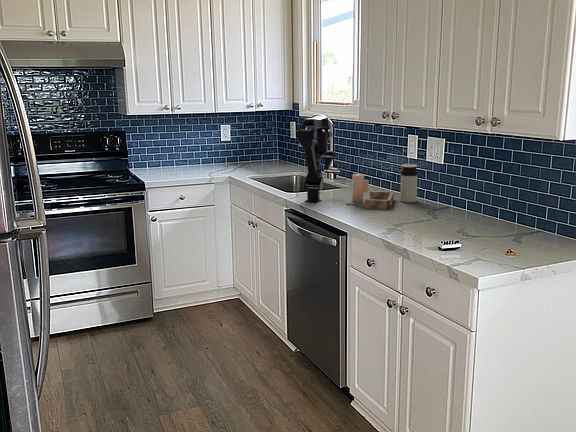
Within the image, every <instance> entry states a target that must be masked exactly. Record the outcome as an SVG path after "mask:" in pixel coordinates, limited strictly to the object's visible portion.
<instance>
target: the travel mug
mask: <svg viewBox="0 0 576 432" xmlns="http://www.w3.org/2000/svg"><path fill="white" fill-rule="evenodd" d="M401 167H402V168H401V170H400V191H399V193H400V194H399V196H400V198H399V200H400V202H402V203H406V204H407V203H409V204H410V203H416V202H417V198H418V196H417V195H418V170H417V167H418V165H417V164H413V163H411V164H409V163H408V164H405V163H404V164H401Z"/></svg>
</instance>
